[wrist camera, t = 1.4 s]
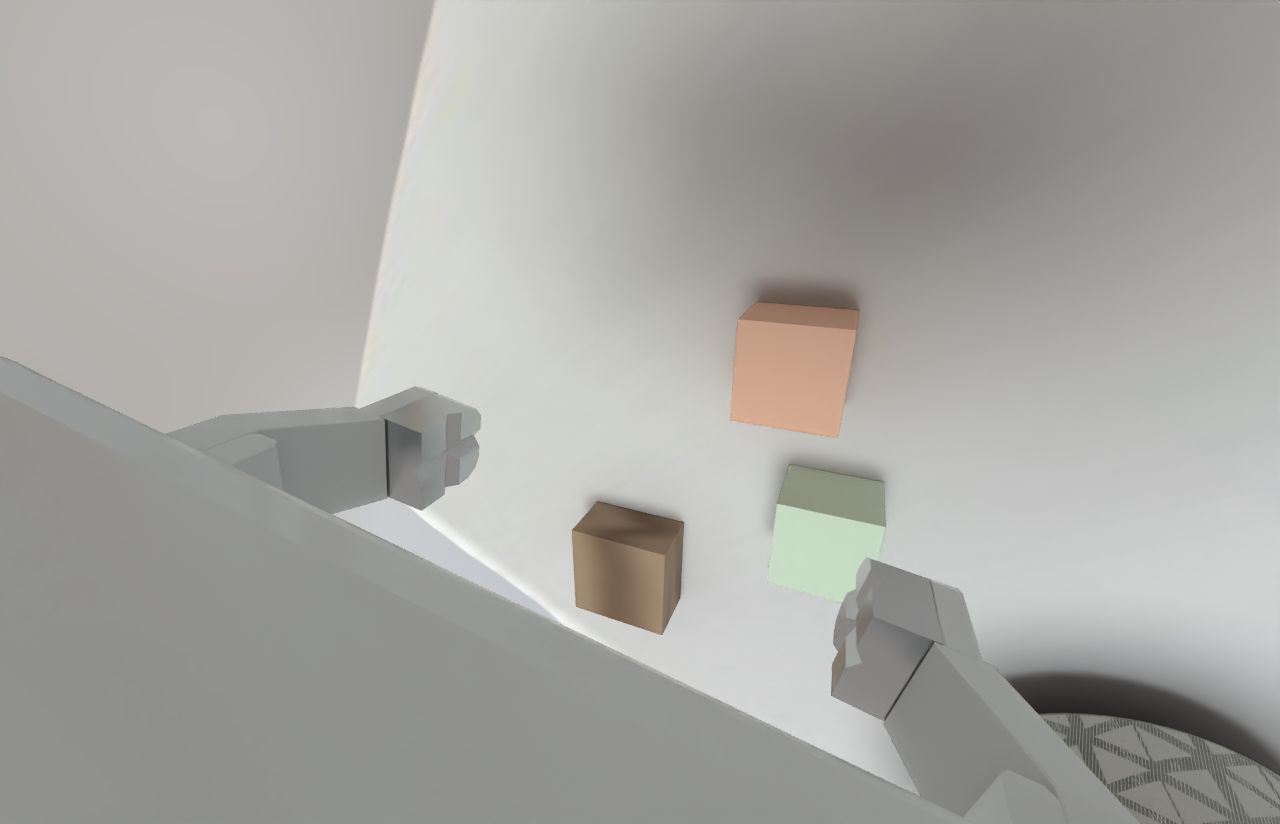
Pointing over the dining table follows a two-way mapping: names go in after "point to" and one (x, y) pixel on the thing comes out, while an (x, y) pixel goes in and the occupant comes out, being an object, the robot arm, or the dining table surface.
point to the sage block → (825, 531)
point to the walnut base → (628, 565)
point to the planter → (1170, 771)
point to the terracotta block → (793, 367)
